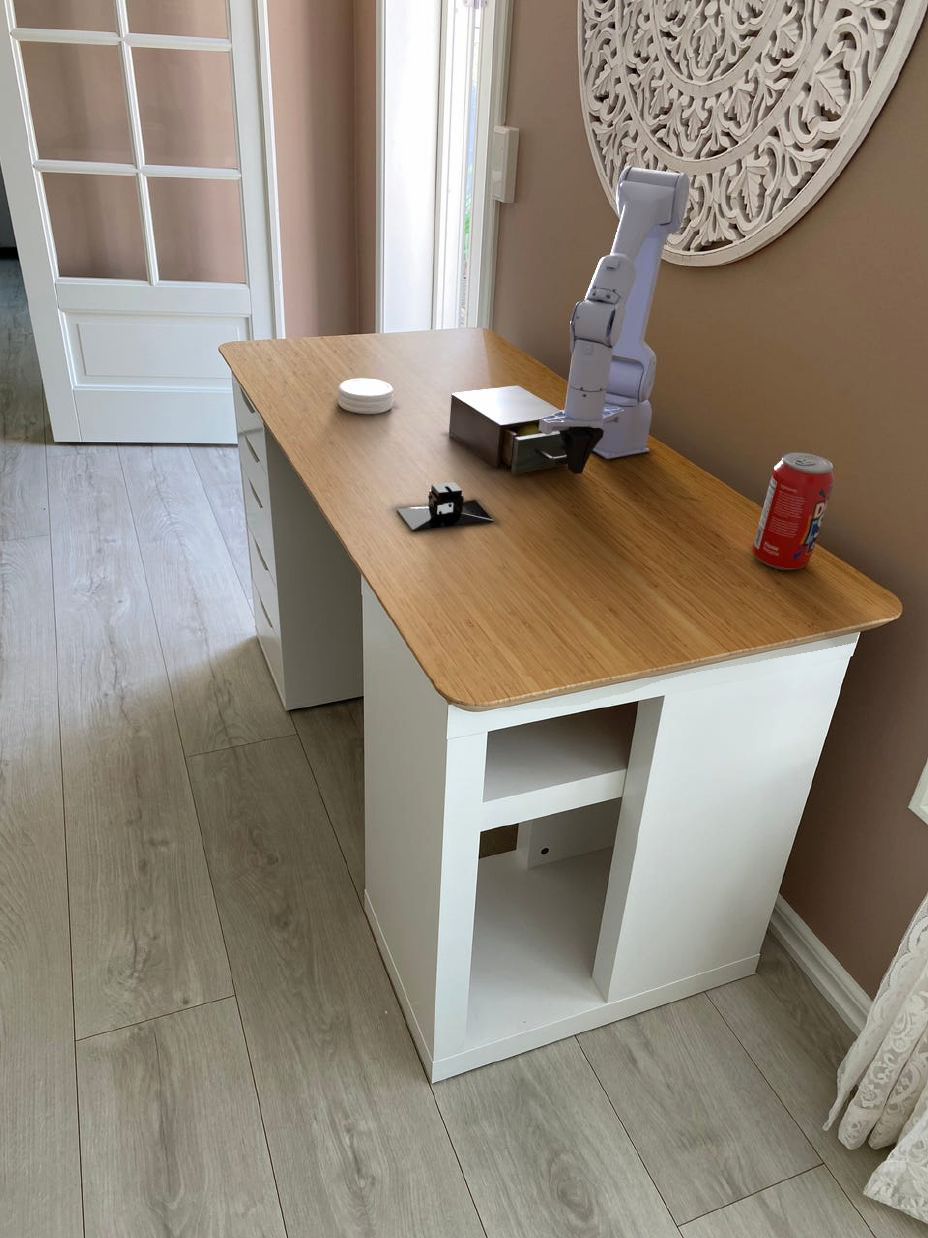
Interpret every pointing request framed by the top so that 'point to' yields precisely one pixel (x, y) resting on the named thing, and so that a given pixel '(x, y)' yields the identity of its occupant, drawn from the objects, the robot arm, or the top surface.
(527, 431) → the lemon
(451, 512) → the black block on plate
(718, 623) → the top surface
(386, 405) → the coaster
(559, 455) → the drawer
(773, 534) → the soda can
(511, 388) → the cabinet
